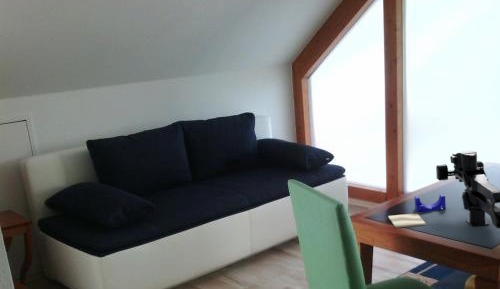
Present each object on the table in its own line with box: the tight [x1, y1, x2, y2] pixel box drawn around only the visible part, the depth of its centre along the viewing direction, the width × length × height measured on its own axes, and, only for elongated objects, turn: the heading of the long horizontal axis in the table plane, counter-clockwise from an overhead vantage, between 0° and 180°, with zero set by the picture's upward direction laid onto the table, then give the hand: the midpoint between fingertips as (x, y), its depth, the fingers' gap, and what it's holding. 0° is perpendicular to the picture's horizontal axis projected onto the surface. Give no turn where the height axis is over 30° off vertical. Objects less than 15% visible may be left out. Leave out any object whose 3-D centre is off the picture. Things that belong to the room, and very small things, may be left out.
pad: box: [387, 212, 427, 229], centre depth 210 cm, size 12×12×1 cm
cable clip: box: [414, 193, 446, 214], centre depth 219 cm, size 12×4×6 cm, turn 85°
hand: (452, 165), depth 221 cm, fingers open, 9 cm apart
